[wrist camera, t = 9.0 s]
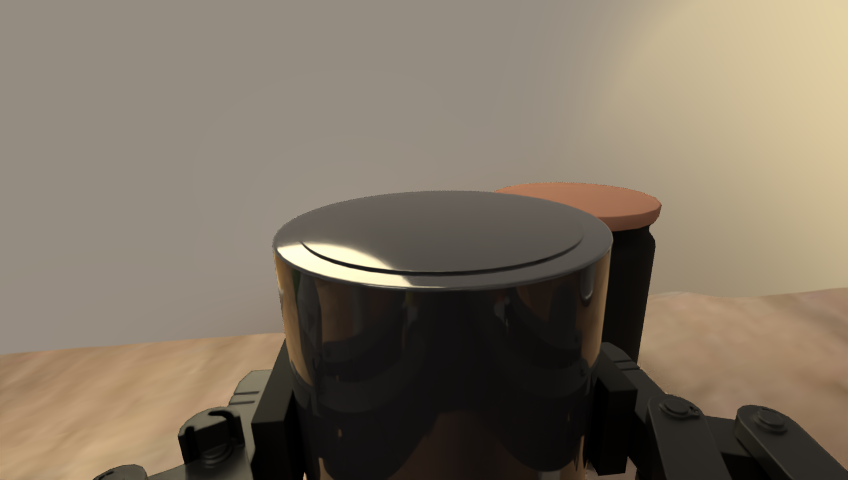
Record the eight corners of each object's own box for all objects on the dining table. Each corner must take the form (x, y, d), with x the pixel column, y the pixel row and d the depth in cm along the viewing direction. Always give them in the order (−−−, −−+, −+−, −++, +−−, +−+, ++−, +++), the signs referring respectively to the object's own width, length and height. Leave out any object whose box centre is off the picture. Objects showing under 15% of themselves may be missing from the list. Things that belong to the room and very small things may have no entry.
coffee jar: (505, 365, 40) (513, 178, 35) (628, 397, 36) (660, 187, 30) (464, 442, 31) (466, 206, 26) (621, 498, 27) (665, 224, 21)
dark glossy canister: (522, 458, 18) (538, 184, 15) (621, 706, 11) (706, 269, 7) (336, 477, 18) (304, 194, 14) (304, 755, 10) (215, 300, 6)
